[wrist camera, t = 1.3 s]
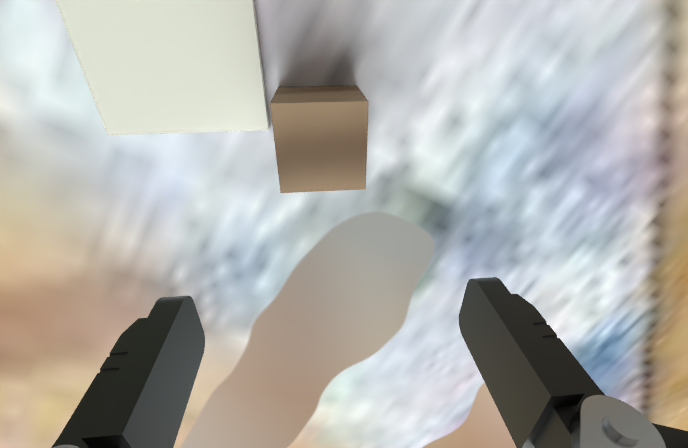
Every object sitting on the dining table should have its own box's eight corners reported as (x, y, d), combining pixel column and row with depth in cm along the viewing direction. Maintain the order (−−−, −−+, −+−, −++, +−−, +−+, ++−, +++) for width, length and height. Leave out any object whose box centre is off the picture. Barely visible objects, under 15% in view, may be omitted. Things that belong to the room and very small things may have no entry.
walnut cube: (278, 86, 25) (270, 103, 20) (356, 85, 25) (368, 101, 20) (286, 162, 28) (280, 192, 23) (355, 159, 28) (365, 189, 23)
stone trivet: (35, -74, 19) (24, -78, 18) (245, -71, 20) (242, -74, 19) (113, 132, 25) (107, 135, 25) (269, 127, 26) (268, 130, 26)
